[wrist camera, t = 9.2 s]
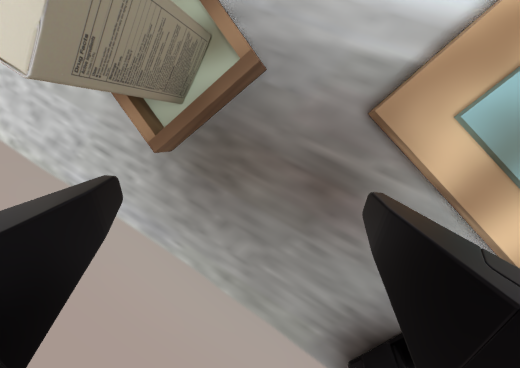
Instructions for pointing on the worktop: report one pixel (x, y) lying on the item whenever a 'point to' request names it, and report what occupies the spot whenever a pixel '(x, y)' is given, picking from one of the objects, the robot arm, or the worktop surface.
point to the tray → (198, 81)
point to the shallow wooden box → (468, 125)
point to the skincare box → (104, 45)
